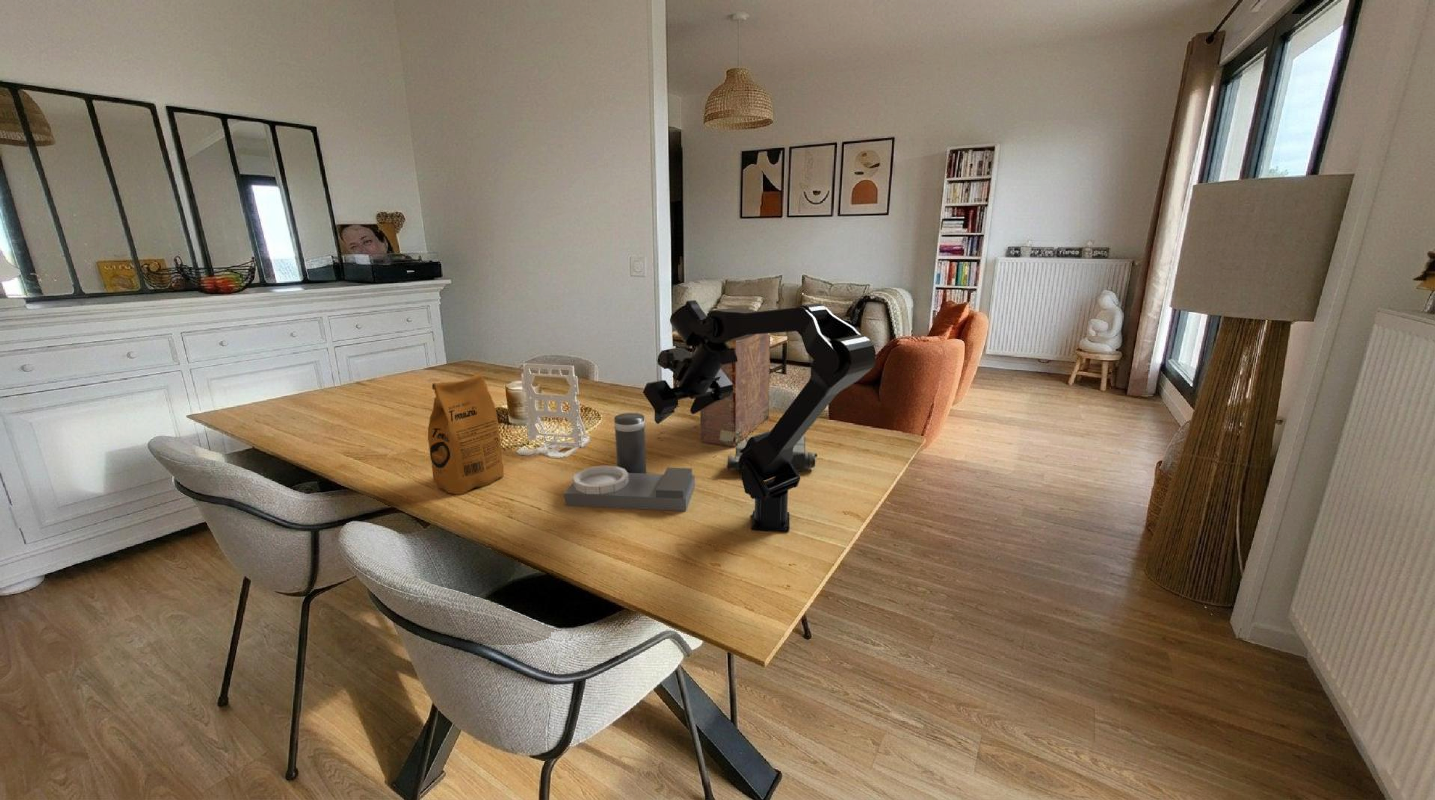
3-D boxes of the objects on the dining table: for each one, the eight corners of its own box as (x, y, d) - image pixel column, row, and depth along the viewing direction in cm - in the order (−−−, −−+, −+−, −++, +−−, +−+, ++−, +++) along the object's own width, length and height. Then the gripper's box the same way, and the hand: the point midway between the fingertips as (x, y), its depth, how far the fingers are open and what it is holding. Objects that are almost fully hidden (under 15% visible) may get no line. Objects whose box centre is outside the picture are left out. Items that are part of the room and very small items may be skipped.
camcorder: (823, 473, 121) (824, 450, 119) (727, 478, 118) (727, 455, 117) (802, 447, 136) (802, 427, 135) (717, 451, 134) (717, 430, 132)
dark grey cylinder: (643, 482, 116) (640, 422, 113) (613, 481, 117) (610, 421, 114) (649, 470, 122) (647, 413, 119) (621, 469, 123) (618, 412, 119)
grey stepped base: (686, 511, 104) (685, 491, 103) (565, 505, 106) (563, 485, 105) (694, 486, 114) (694, 468, 113) (584, 482, 117) (582, 464, 116)
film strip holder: (510, 454, 132) (501, 370, 127) (541, 435, 145) (534, 358, 140) (567, 459, 129) (559, 373, 124) (593, 439, 142) (588, 361, 136)
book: (738, 414, 162) (738, 308, 153) (769, 418, 158) (771, 309, 150) (700, 442, 139) (698, 320, 131) (735, 447, 136) (735, 322, 127)
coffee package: (427, 487, 115) (411, 381, 109) (483, 467, 125) (470, 369, 119) (455, 499, 109) (439, 388, 103) (510, 477, 119) (499, 375, 113)
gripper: (718, 328, 114) (688, 380, 124) (642, 339, 102) (616, 396, 112) (749, 368, 110) (716, 418, 120) (674, 384, 97) (644, 439, 107)
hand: (674, 417), depth 115 cm, fingers open, 9 cm apart
